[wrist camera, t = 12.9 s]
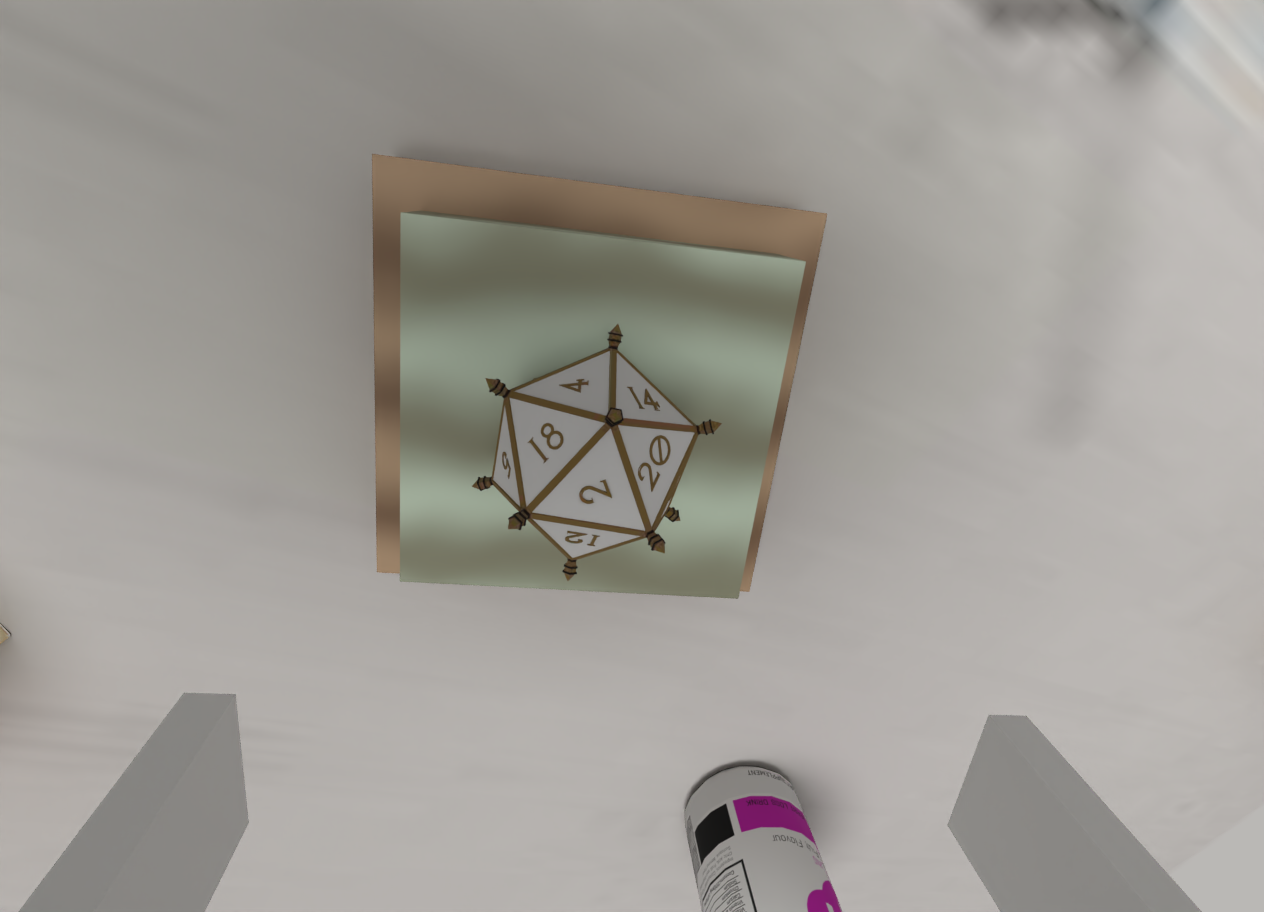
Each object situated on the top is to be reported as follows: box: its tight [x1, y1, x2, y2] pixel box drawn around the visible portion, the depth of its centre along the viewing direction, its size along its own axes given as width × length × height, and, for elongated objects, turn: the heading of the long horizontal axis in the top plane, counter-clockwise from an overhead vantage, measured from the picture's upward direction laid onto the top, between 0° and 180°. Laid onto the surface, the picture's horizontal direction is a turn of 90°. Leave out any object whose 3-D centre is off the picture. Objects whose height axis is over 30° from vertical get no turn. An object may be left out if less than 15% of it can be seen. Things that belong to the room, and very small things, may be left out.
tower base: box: [372, 154, 827, 599], centre depth 33 cm, size 20×20×8 cm
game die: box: [472, 324, 722, 581], centre depth 26 cm, size 9×8×10 cm
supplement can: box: [685, 766, 842, 912], centre depth 42 cm, size 8×8×15 cm
